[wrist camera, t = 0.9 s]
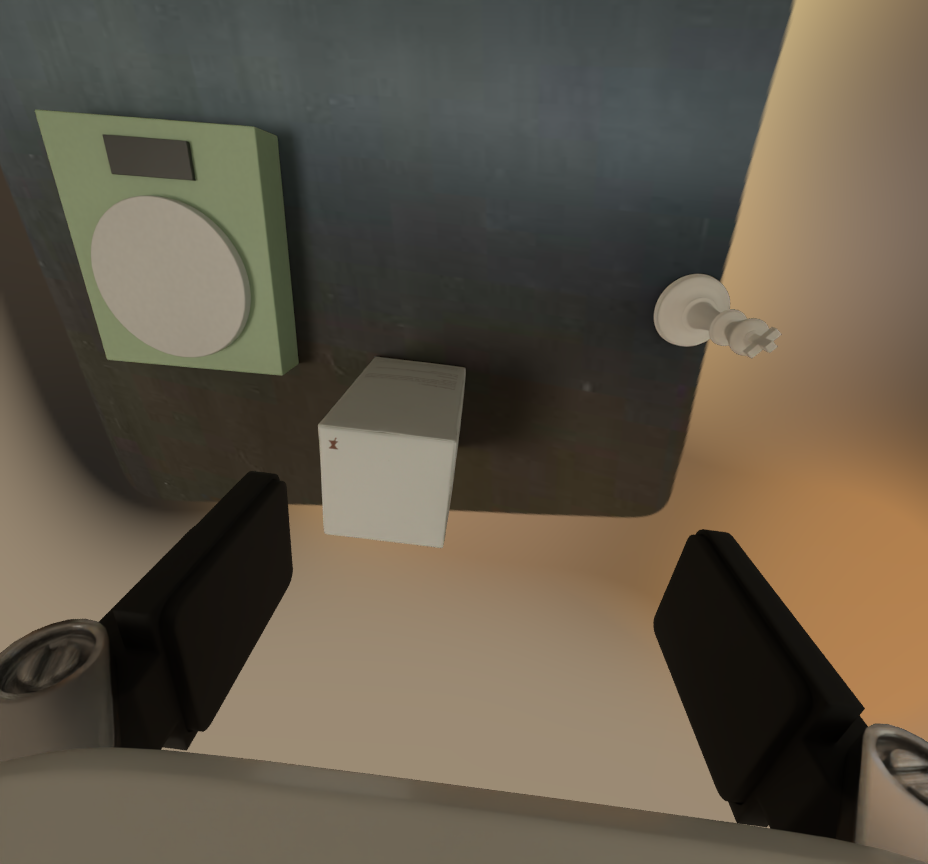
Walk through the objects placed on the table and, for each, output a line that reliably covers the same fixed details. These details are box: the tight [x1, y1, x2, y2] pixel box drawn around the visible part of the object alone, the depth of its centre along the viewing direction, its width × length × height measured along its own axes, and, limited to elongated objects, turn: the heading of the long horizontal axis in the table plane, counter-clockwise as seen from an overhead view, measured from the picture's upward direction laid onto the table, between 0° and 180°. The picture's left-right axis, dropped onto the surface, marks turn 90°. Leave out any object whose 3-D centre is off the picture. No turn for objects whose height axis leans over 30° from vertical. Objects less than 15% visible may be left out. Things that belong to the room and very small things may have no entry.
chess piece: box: [654, 274, 782, 358], centre depth 26 cm, size 5×5×10 cm
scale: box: [35, 110, 299, 375], centre depth 29 cm, size 15×13×4 cm
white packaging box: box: [318, 357, 466, 548], centre depth 29 cm, size 7×7×13 cm
